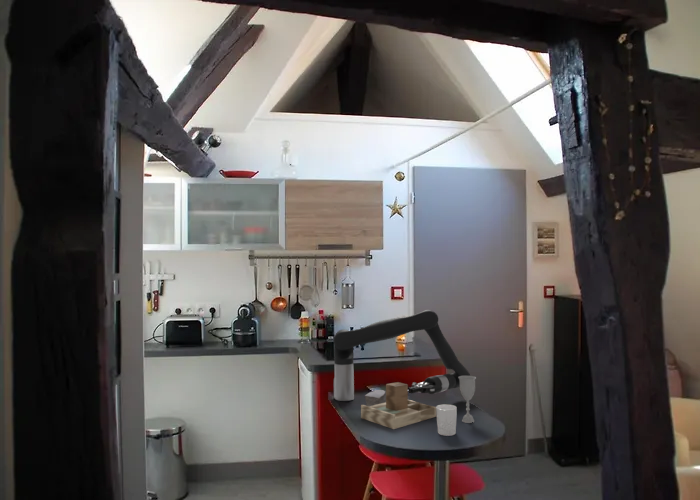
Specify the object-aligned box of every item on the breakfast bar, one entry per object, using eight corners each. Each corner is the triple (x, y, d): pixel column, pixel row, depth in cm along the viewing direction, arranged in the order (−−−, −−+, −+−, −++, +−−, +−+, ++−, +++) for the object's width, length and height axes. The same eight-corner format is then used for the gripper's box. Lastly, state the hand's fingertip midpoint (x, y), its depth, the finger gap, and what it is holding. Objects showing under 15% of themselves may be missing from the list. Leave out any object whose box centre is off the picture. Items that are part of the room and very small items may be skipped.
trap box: (361, 417, 225) (360, 405, 225) (402, 406, 241) (402, 394, 241) (393, 429, 210) (393, 415, 210) (436, 416, 226) (435, 403, 226)
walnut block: (385, 407, 225) (386, 384, 225) (397, 405, 229) (397, 382, 230) (395, 410, 220) (395, 386, 221) (407, 408, 225) (407, 384, 225)
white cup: (434, 430, 208) (433, 404, 208) (453, 429, 208) (453, 403, 209) (439, 437, 200) (438, 410, 200) (459, 436, 201) (459, 409, 201)
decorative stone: (365, 413, 233) (388, 412, 233) (364, 397, 233) (387, 396, 233) (365, 404, 248) (386, 403, 248) (364, 389, 248) (385, 388, 248)
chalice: (477, 419, 221) (477, 376, 221) (476, 424, 214) (475, 379, 215) (460, 418, 223) (459, 375, 223) (458, 422, 217) (457, 378, 217)
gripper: (425, 373, 246) (398, 379, 235) (447, 378, 236) (420, 384, 225) (425, 390, 246) (399, 396, 235) (447, 395, 236) (421, 402, 225)
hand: (409, 390), depth 230 cm, fingers closed
